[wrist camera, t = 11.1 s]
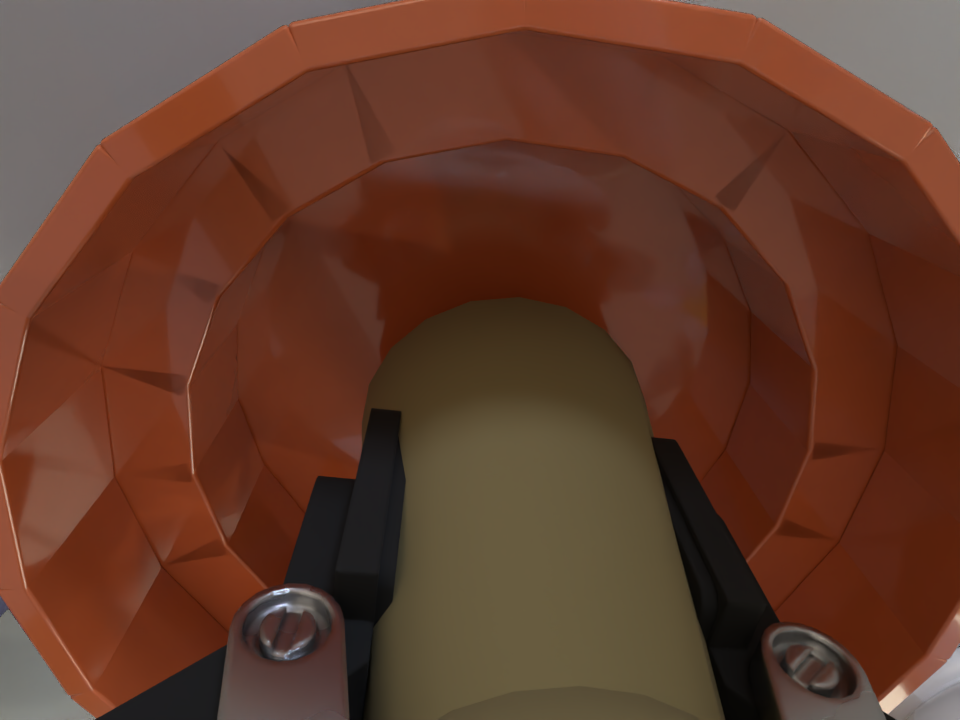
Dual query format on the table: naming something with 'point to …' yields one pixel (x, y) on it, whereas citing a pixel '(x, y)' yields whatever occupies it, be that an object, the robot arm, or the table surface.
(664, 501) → the olive peg figure
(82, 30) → the table surface
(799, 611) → the orange plant pot
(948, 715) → the flower vase
